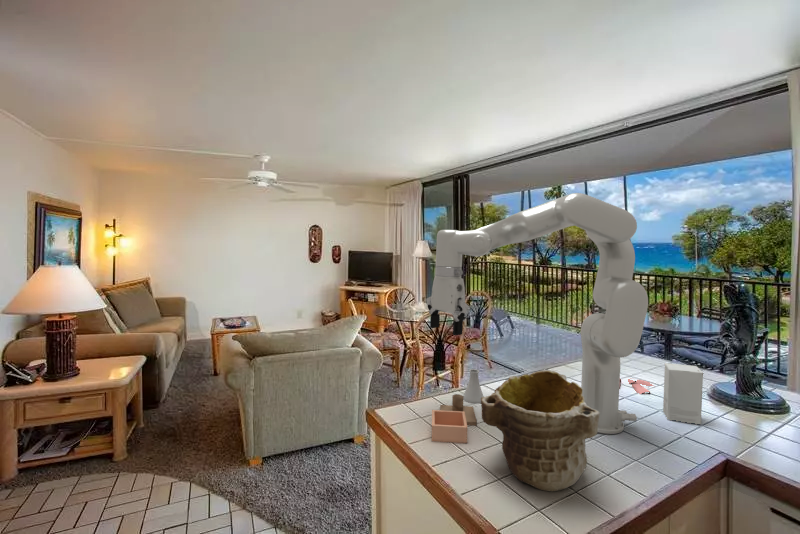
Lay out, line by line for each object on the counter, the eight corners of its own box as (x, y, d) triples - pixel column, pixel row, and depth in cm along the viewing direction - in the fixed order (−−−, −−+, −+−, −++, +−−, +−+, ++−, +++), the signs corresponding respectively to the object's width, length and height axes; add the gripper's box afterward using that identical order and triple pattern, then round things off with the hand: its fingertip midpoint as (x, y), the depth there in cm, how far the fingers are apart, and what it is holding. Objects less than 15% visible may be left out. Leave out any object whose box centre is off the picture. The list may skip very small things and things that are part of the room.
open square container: (464, 427, 103) (464, 411, 103) (467, 444, 94) (467, 427, 94) (431, 425, 104) (432, 409, 104) (431, 442, 95) (431, 425, 95)
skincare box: (695, 416, 111) (698, 365, 110) (702, 426, 105) (705, 372, 104) (661, 411, 115) (664, 361, 114) (666, 420, 109) (669, 368, 108)
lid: (473, 409, 113) (473, 390, 113) (476, 425, 103) (477, 404, 103) (440, 408, 114) (440, 389, 114) (440, 423, 104) (441, 402, 104)
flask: (485, 406, 117) (485, 375, 116) (461, 404, 118) (462, 373, 118) (484, 396, 124) (485, 367, 123) (462, 395, 125) (463, 366, 125)
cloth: (658, 384, 138) (658, 378, 138) (661, 405, 120) (662, 398, 120) (596, 373, 149) (597, 368, 149) (591, 391, 131) (591, 385, 131)
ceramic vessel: (518, 490, 64) (488, 353, 79) (482, 499, 84) (464, 388, 98) (639, 481, 67) (589, 349, 81) (577, 492, 86) (545, 384, 101)
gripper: (479, 275, 102) (476, 336, 103) (438, 270, 116) (435, 323, 117) (460, 275, 98) (457, 339, 99) (419, 270, 112) (417, 326, 113)
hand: (445, 331), depth 108 cm, fingers open, 9 cm apart
